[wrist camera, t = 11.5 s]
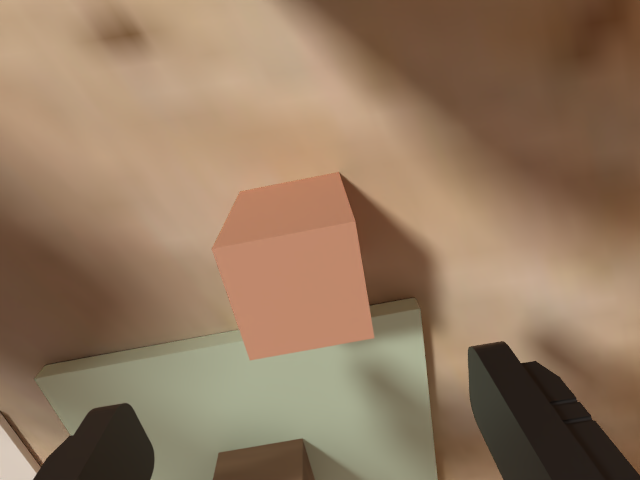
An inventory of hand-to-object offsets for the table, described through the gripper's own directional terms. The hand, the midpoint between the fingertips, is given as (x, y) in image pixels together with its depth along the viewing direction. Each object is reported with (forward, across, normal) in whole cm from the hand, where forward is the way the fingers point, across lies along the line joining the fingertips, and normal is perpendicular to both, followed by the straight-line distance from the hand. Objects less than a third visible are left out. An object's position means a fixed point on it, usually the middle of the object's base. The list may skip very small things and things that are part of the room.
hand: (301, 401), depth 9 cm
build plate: (+10, +5, +15) cm, 19 cm away
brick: (+10, 0, 0) cm, 10 cm away
